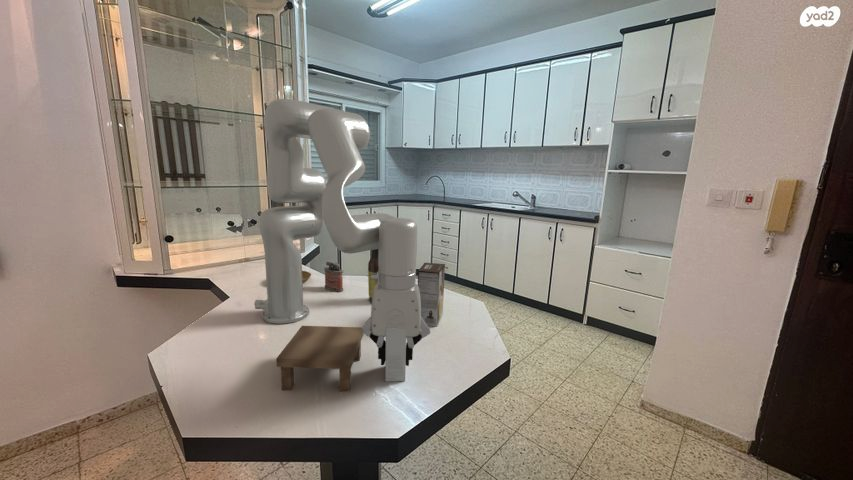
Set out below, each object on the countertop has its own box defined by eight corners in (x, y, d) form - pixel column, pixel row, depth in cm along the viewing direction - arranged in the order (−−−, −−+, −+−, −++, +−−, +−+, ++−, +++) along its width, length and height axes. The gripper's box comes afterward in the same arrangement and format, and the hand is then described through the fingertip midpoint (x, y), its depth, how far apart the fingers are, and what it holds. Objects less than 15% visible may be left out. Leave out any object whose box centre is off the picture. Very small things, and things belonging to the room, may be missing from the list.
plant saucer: (262, 288, 122) (262, 281, 121) (277, 276, 136) (277, 269, 136) (305, 289, 123) (305, 282, 122) (315, 276, 137) (315, 270, 137)
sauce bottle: (381, 296, 118) (381, 239, 114) (391, 302, 113) (392, 243, 109) (364, 300, 114) (364, 241, 110) (374, 306, 109) (374, 245, 105)
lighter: (345, 290, 122) (345, 263, 120) (338, 293, 119) (337, 265, 117) (329, 285, 126) (329, 259, 124) (322, 288, 123) (321, 261, 122)
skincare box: (385, 365, 76) (386, 315, 74) (404, 365, 76) (406, 315, 74) (384, 382, 70) (385, 327, 68) (405, 381, 70) (407, 327, 68)
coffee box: (422, 312, 106) (424, 261, 103) (443, 314, 105) (445, 263, 101) (415, 324, 97) (417, 270, 94) (438, 327, 96) (440, 272, 93)
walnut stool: (278, 391, 66) (276, 358, 65) (303, 353, 80) (301, 325, 78) (351, 393, 66) (350, 360, 65) (363, 355, 80) (363, 327, 79)
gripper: (351, 284, 65) (351, 371, 69) (439, 287, 66) (435, 373, 69) (358, 273, 73) (358, 351, 76) (438, 275, 73) (434, 353, 77)
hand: (395, 361), depth 73 cm, fingers closed on skincare box, 4 cm apart
